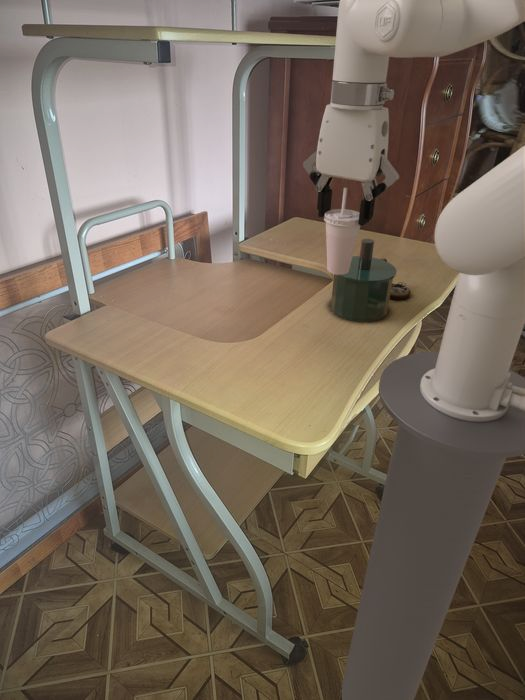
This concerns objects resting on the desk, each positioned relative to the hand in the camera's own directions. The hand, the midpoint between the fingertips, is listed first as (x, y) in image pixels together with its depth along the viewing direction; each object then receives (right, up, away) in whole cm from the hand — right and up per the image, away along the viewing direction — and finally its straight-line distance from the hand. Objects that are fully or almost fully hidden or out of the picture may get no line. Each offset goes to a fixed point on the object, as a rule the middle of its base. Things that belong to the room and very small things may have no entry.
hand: (343, 218), depth 81 cm
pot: (+7, -13, +22) cm, 26 cm away
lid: (+7, -6, +17) cm, 19 cm away
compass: (+16, -9, +29) cm, 34 cm away
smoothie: (0, -8, +5) cm, 9 cm away
